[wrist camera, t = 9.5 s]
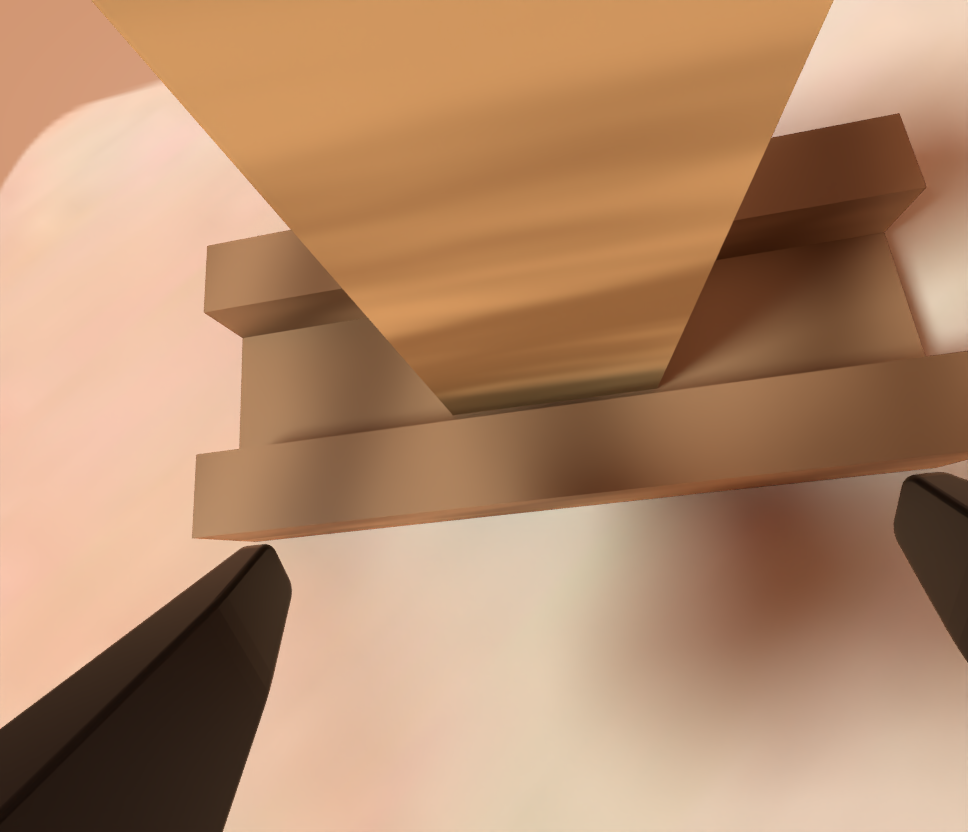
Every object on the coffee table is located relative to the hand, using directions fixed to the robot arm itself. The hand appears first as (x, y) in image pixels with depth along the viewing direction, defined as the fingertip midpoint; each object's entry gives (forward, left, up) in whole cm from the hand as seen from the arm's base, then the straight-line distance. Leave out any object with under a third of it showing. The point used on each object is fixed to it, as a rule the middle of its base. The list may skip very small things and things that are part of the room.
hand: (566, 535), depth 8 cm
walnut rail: (+6, +1, -8) cm, 10 cm away
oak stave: (+6, +1, -7) cm, 9 cm away
